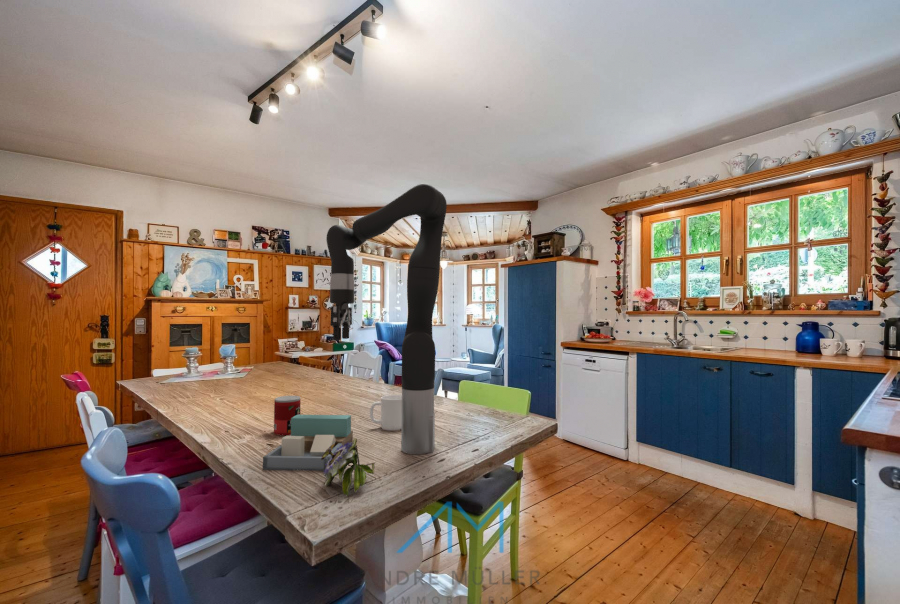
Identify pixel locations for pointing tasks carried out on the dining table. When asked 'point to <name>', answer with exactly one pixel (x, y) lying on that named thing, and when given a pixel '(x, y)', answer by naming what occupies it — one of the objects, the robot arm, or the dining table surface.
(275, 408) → the canned food
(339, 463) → the passion flower
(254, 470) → the dining table surface
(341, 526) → the dining table surface
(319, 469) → the tray
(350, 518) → the dining table surface
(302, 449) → the tile
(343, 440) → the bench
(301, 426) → the teal rectangular block
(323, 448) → the tile
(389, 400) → the cup
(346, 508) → the dining table surface
